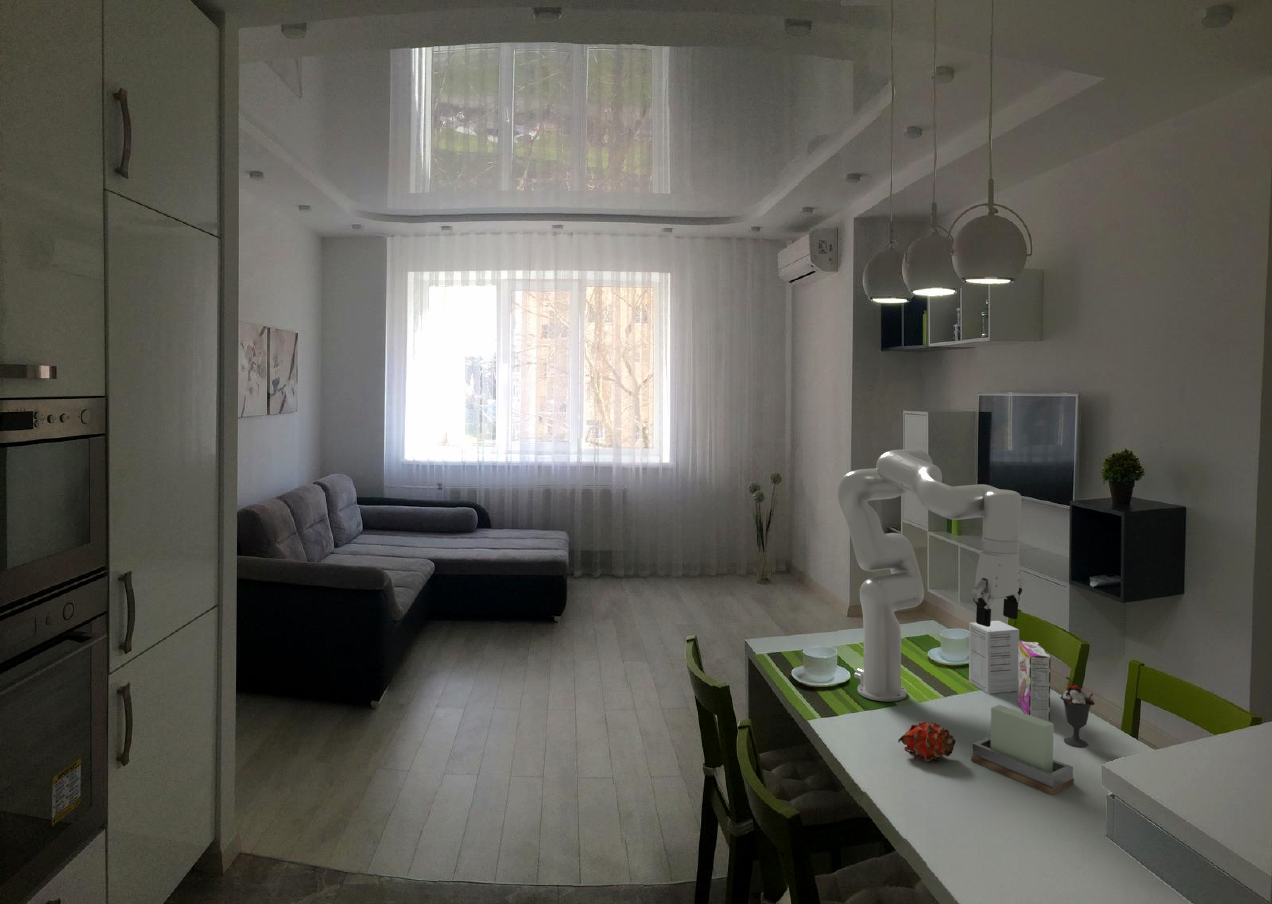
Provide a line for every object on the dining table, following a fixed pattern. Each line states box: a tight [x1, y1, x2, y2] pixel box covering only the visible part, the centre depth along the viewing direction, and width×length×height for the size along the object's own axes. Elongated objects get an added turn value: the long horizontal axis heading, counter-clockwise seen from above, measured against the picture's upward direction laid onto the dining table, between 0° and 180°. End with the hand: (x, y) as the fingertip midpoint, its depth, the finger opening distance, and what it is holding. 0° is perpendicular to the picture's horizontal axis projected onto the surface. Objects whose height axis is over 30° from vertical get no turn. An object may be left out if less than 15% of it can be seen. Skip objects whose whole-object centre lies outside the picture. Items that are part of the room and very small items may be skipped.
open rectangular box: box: [970, 735, 1075, 796], centre depth 169 cm, size 18×8×4 cm, turn 33°
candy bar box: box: [1017, 641, 1052, 722], centre depth 198 cm, size 11×5×16 cm, turn 168°
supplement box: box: [968, 620, 1020, 694], centre depth 216 cm, size 10×9×17 cm
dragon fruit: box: [897, 721, 957, 762], centre depth 176 cm, size 8×8×12 cm
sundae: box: [1060, 676, 1095, 748], centre depth 181 cm, size 7×7×15 cm
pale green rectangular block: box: [990, 704, 1055, 773], centre depth 168 cm, size 12×3×11 cm, turn 33°
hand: (996, 621), depth 179 cm, fingers open, 9 cm apart
